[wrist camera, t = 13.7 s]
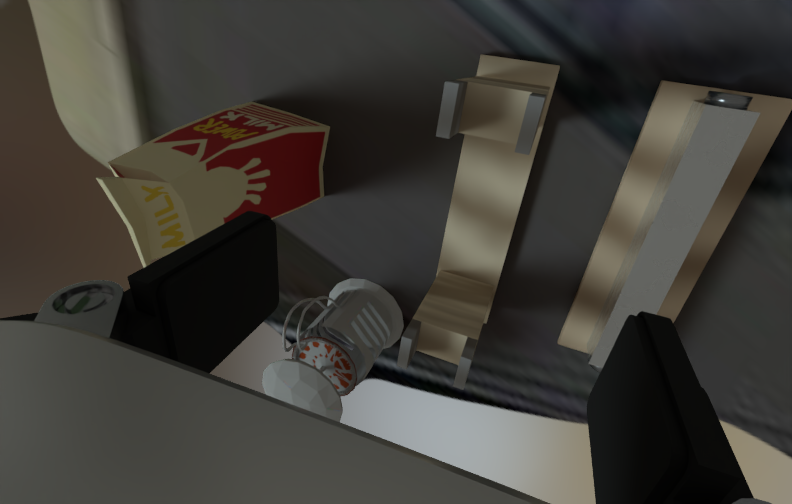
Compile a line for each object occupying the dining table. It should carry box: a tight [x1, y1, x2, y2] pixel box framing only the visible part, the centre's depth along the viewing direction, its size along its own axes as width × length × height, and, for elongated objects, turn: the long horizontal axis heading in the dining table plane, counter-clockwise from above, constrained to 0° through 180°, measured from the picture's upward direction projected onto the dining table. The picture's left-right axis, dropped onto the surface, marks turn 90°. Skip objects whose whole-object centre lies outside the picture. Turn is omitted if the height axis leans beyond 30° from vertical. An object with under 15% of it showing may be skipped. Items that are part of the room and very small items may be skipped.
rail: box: [587, 91, 760, 373], centre depth 32 cm, size 24×3×3 cm, turn 172°
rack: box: [397, 54, 560, 390], centre depth 32 cm, size 24×6×12 cm, turn 172°
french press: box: [262, 279, 404, 422], centre depth 37 cm, size 10×12×25 cm
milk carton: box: [96, 102, 330, 267], centre depth 34 cm, size 9×9×20 cm
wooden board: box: [558, 80, 792, 353], centre depth 33 cm, size 24×8×1 cm, turn 172°
